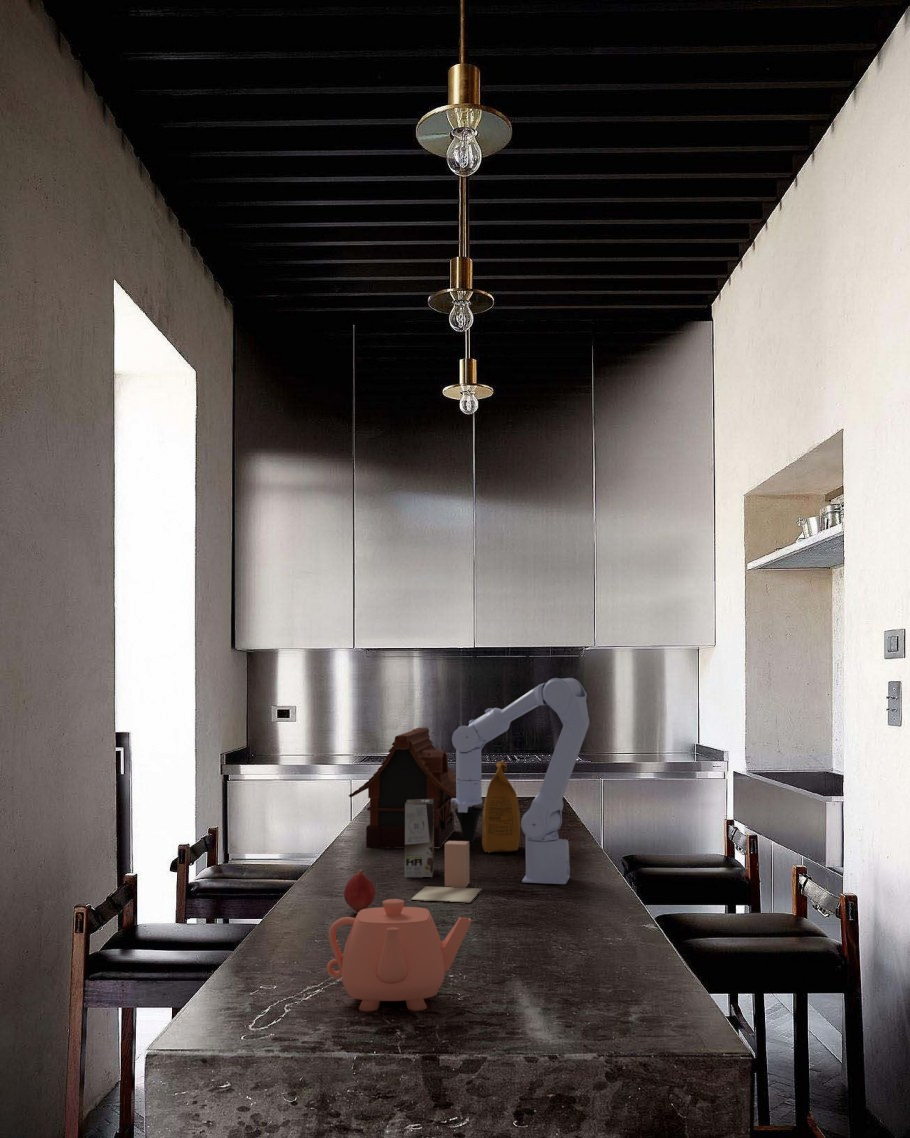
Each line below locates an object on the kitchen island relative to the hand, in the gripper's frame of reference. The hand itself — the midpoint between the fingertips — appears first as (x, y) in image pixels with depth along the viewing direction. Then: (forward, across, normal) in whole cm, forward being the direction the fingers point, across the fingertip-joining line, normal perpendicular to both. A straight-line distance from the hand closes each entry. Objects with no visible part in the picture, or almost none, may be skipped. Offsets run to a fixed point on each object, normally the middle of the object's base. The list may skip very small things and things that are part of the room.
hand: (469, 840), depth 228 cm
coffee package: (+8, -31, +2) cm, 32 cm away
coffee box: (+8, +2, -11) cm, 13 cm away
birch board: (+7, +22, 0) cm, 24 cm away
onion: (+7, +40, -13) cm, 43 cm away
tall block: (+7, +13, 0) cm, 15 cm away
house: (+8, -44, -25) cm, 51 cm away
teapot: (+7, +88, +8) cm, 89 cm away
